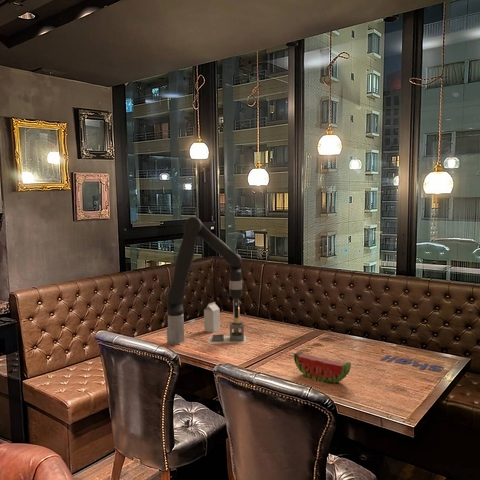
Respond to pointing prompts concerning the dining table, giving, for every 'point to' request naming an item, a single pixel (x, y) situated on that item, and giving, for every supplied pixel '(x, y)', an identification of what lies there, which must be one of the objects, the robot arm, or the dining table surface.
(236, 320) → the brass tube
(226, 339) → the base board
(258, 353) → the dining table surface
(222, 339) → the collar stand
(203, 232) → the robot arm
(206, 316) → the milk carton
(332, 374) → the fruit slice
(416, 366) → the signage
